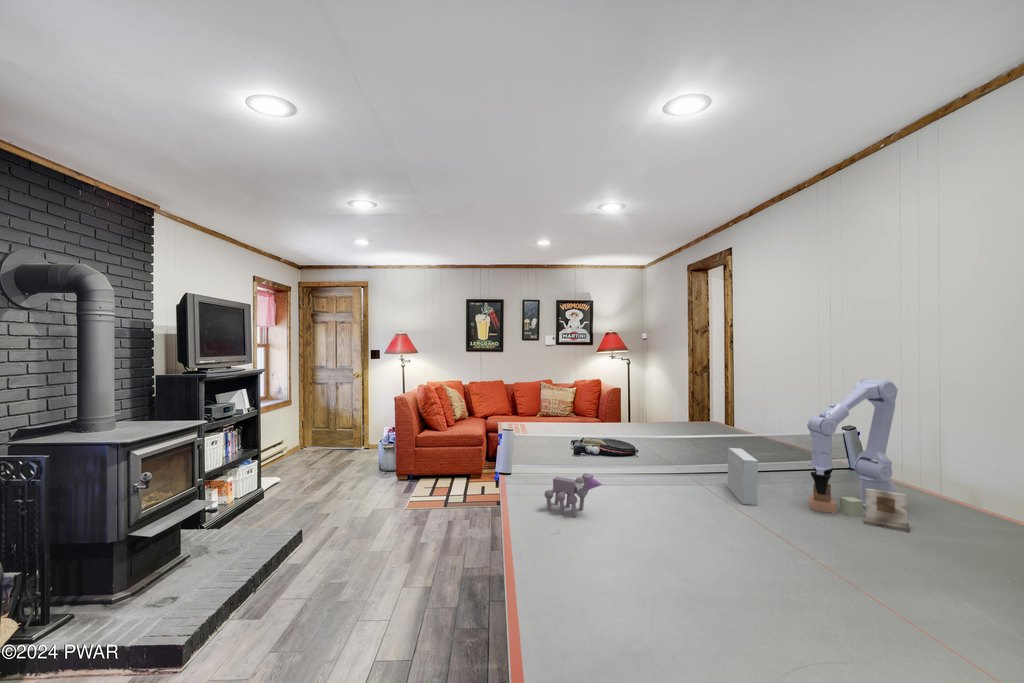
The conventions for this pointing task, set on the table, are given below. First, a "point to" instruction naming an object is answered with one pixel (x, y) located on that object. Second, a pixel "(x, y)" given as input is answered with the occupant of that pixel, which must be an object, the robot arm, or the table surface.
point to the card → (886, 510)
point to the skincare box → (742, 476)
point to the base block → (823, 505)
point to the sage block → (851, 506)
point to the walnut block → (823, 497)
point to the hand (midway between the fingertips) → (822, 491)
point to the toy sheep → (570, 491)
